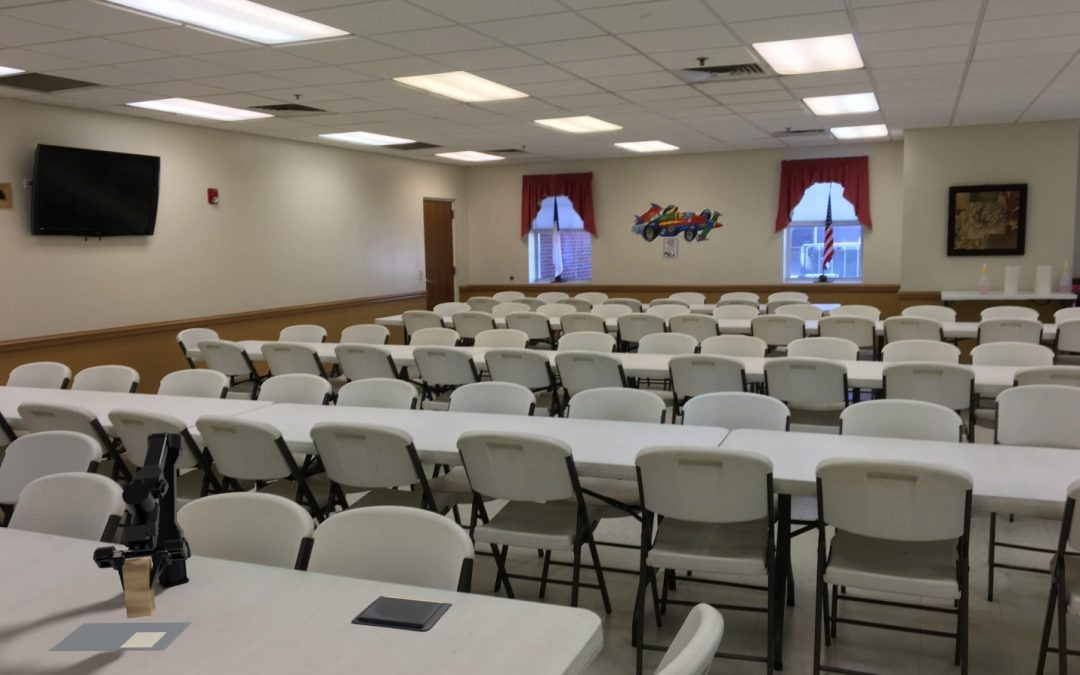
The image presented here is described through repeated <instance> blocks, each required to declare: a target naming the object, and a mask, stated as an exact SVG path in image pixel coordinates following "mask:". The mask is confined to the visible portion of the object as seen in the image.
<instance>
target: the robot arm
mask: <svg viewBox="0 0 1080 675" xmlns="http://www.w3.org/2000/svg"><path fill="white" fill-rule="evenodd" d="M146 438H147V439H146V446H147V447H146V448H147V449H146V454H145V458H144V462H143V465H142V468H141V469H140V470H138V471H136V472H135V473H134V476H133V478H132V481H130V483H129V484H128V485H127V486H126V487H125V489H124V490H123V491H122V493H121V497H122V501H123V503H124V505H125V506H126V508H127V510H128V512H129V513H130V514H131V522H130V524H129V526H124V527H123V528H122V529H123V530H122V543H124V546H125V548H127V549H126V550H125V549H124V550H121V549H116V546H115V545H110V546H99V547H97V548H96V549H95V550H94V551H93V556H92V560H93V561H94V563H95V564H96V566H97V567H98V568H99V569H101V570H103V569H110V568H112V569H113V570H114V571H117V573H118V576H119V579H120V583H121V588H122V592H123V593H125V591H124V580H123V570H122V566H123V565H124V563H125V562H126V560H129V559H138V558H147V557H151V564H152V571H151V576H150V585H149V588H150V589H152V588H153V586H155V584H156V583H157V584H159V585H160V586H161V587H162V588H163V589H166V588H169V587H173V586H176V585H180V584H184V583H187V582H189V581H190V578H189V577H188V573H187V562H186V561H187V560H188V559H190V558H192V552H191V551H192V549H191V546H190V543H189V542H188V540H187V537H185V531H184V530H183V528H182V526H181V525H180V523H179V522H178V488H177V487H178V486H177V482H178V481H177V479H178V478H177V476H178V475H177V466H178V465H179V464H180V461H181V460H182V458H183V456H184V455H183V453H184V452H183V451H184V450H185V447H186V442H185V437H184V436H183V435H181V434H180V433H179V432H178V433H177V432H175V433H172V432H167V431H165V432H152V433H150V434H148V436H147V437H146ZM155 500H158V502H157V501H155Z"/></svg>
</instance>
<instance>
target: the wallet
mask: <svg viewBox="0 0 1080 675" xmlns="http://www.w3.org/2000/svg"><path fill="white" fill-rule="evenodd" d="M377 598H378V599H377ZM377 598H376V599H375V600H373V601H372V602H371V603H369V605H368V606H366V607H365V608H364V609H363V610H362V611H361V612H359V613H358V614H357V615H356V616H355V617H354V618H353V619H352V620H351V622H350V624H355V625H361V626H371V627H381V628H387V629H388V628H389V629H397V630H405V631H412V632H419V633H420V632H421V633H426V632H428V631H430V630H431V629H432V628H433V627H434V626H435V625H436V624H437V622H439V620H441V618H442V617H443V616H444V615H445V614H446V613H447V611H448V610H449V609H450V608H451V606H453V603H449V602H442V601H432V600H422V599H413V598H404V597H394V596H381V595H379V596H378V597H377Z"/></svg>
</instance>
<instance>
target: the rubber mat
mask: <svg viewBox="0 0 1080 675" xmlns="http://www.w3.org/2000/svg"><path fill="white" fill-rule="evenodd" d="M191 624H192V622H189V621H188V622H187V621H186V622H183V621H182V622H179V621H178V622H174V621H173V622H84V623H82V624H81V625H79V626H78V627H77V628H76V629H74V630H73V631H72V632H71V633H69V634H68V635H67V636H65V637H64V638H63V639H62V640H61V641H59V642H57V644H55V645H54V646H53V647H52V648H51V649H49V650H48V651H49V652H52V651H53V652H61V651H63V652H65V651H66V652H67V651H69V652H72V651H73V652H75V651H76V652H78V651H80V652H82V651H83V652H86V651H91V652H92V651H94V652H95V651H97V652H99V651H165V650H166V649H167V648H168V647H169V646H170V645H171V644H172V643H173V642H174V641H175V640H176V639H177V638H178V637H179V636H180V635H182V633H183V632H184V631H185V630H186V629H187V628H188V627H189V626H190V625H191Z"/></svg>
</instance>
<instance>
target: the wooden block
mask: <svg viewBox="0 0 1080 675" xmlns="http://www.w3.org/2000/svg"><path fill="white" fill-rule="evenodd" d="M152 566H153V563H152V558H151V556H150V557H141V558H132V559H126V561H125V563H124V565H123V566H122V570H123V580H124V591H125V592H124V591H123V592H124V600H125V609H126V618H127V620H128V619H134V618H143V617H152V616H153V615H154V614H153V613H154V612H155V609H156V599H155V598H156V597H155V589H154V586H155V585H154V586H153V588H152V589H150V588H149V585H150V576H151V571H152Z"/></svg>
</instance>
